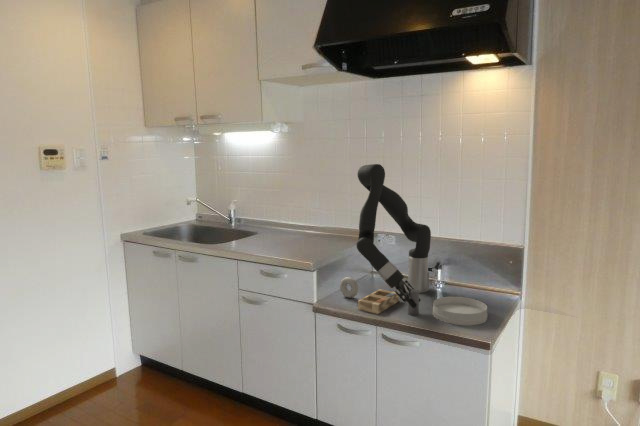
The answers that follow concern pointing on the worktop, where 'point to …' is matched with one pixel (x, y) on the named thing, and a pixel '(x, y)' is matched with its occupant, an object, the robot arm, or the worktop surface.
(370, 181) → the robot arm
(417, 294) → the plug
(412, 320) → the worktop surface
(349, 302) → the worktop surface
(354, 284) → the donut
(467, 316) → the dish
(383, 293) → the socket board
